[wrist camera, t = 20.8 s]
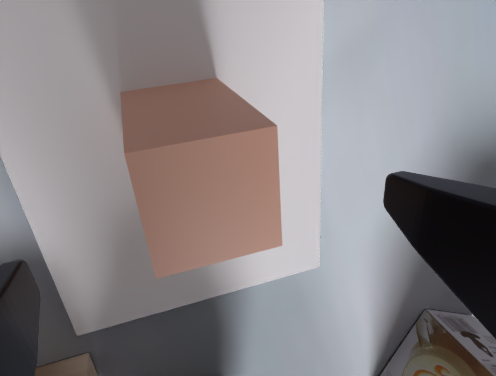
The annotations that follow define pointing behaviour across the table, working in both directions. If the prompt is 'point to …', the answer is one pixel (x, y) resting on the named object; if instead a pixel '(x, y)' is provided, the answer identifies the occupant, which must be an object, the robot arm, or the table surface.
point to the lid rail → (69, 367)
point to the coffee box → (445, 348)
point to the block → (201, 174)
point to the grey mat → (111, 135)
